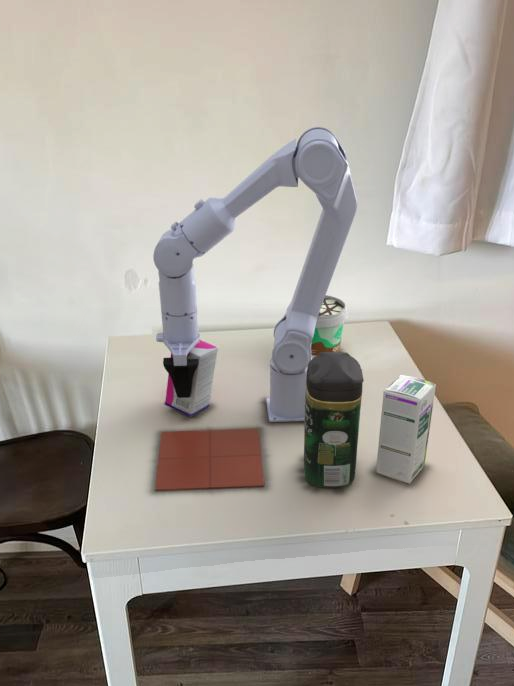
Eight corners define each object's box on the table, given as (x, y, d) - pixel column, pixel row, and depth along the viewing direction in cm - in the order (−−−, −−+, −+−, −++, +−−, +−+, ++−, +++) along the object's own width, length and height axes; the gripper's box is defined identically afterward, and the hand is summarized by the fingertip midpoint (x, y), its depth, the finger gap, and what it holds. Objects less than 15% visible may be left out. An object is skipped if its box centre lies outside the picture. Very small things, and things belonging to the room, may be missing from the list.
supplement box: (210, 406, 122) (219, 346, 116) (190, 418, 118) (199, 357, 111) (183, 393, 124) (191, 334, 117) (163, 404, 119) (170, 344, 113)
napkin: (258, 429, 116) (258, 428, 115) (264, 486, 103) (264, 485, 102) (161, 433, 115) (161, 431, 114) (155, 491, 102) (155, 489, 101)
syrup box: (410, 485, 103) (423, 399, 95) (374, 472, 106) (383, 388, 97) (424, 466, 107) (438, 382, 99) (389, 455, 110) (399, 372, 101)
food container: (341, 369, 134) (344, 320, 128) (309, 366, 135) (311, 317, 129) (348, 342, 144) (351, 295, 138) (318, 339, 145) (321, 293, 139)
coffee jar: (302, 454, 110) (305, 346, 99) (352, 455, 110) (361, 346, 99) (303, 491, 102) (307, 377, 91) (357, 491, 102) (367, 378, 91)
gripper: (156, 293, 116) (163, 366, 124) (150, 328, 105) (158, 407, 113) (198, 292, 117) (202, 365, 125) (197, 327, 105) (202, 405, 113)
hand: (184, 385), depth 119 cm, fingers closed on supplement box, 7 cm apart
